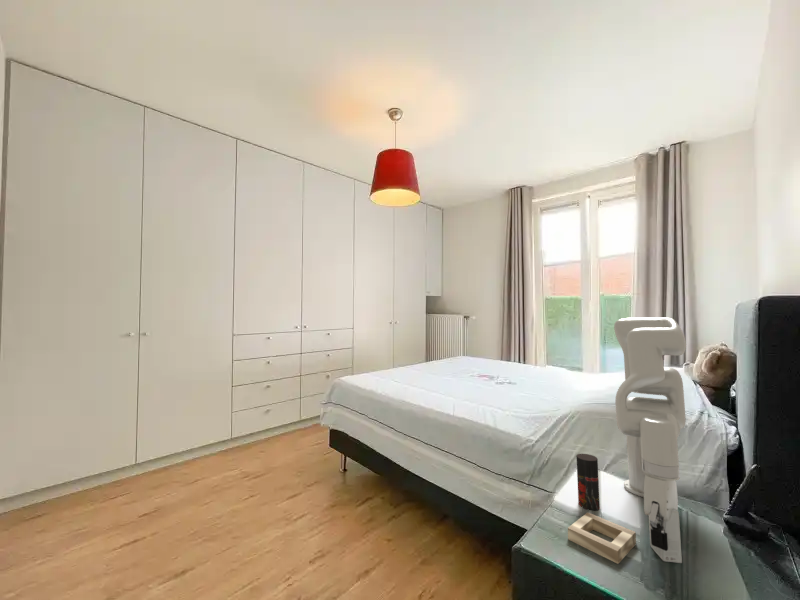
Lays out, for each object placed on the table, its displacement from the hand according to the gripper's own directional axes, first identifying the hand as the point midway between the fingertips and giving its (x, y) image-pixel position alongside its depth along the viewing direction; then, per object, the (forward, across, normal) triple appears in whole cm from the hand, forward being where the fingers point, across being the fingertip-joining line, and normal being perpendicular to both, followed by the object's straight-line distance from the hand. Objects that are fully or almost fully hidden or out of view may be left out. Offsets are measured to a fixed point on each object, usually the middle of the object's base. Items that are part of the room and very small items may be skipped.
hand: (664, 540), depth 85 cm
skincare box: (+4, 0, 0) cm, 4 cm away
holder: (+3, +7, -12) cm, 14 cm away
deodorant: (+3, -9, -22) cm, 24 cm away
